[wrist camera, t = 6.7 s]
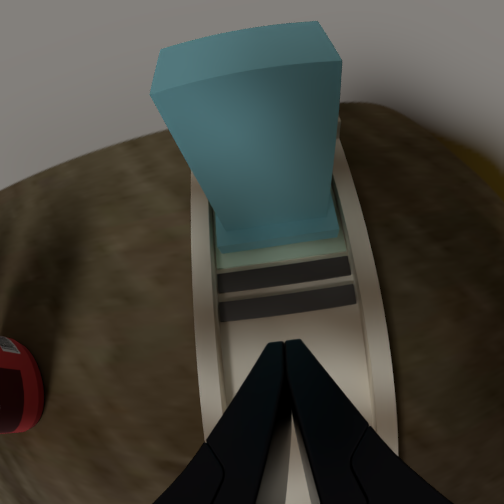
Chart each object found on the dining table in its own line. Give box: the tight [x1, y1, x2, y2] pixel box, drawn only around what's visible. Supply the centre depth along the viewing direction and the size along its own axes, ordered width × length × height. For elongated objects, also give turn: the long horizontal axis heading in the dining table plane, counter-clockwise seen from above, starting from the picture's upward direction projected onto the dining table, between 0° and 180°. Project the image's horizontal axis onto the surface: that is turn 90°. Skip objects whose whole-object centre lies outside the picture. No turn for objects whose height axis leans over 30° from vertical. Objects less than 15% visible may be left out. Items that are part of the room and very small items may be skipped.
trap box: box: [191, 115, 398, 504], centre depth 14 cm, size 22×9×4 cm, turn 6°
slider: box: [150, 21, 342, 254], centre depth 12 cm, size 4×6×10 cm, turn 96°
